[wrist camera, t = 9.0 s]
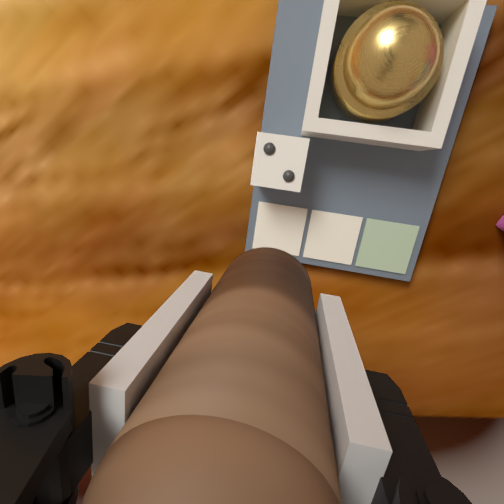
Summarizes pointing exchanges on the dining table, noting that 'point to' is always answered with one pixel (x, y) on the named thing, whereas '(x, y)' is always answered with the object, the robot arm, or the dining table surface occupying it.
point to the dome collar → (430, 107)
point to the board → (347, 165)
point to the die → (279, 161)
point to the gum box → (501, 223)
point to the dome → (387, 62)
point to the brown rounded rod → (233, 402)
